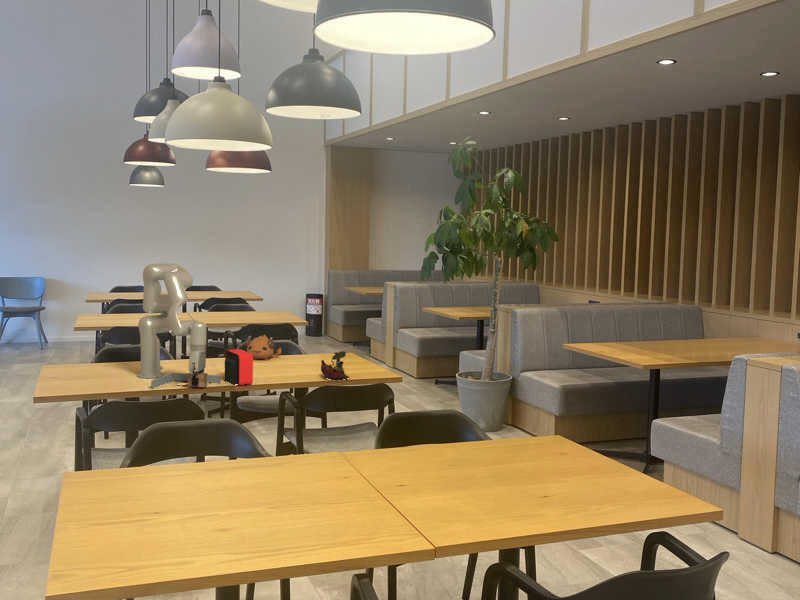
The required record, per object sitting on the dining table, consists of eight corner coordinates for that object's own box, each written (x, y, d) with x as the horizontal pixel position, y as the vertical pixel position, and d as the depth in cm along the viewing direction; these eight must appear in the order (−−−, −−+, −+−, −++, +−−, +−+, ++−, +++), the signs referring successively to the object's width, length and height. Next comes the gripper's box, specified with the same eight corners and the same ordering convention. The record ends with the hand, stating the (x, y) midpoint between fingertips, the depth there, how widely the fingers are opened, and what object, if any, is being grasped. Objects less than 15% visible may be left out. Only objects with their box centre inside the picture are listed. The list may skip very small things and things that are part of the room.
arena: (172, 380, 388) (172, 372, 387) (220, 383, 383) (220, 375, 383) (151, 388, 367) (151, 380, 366) (202, 392, 362) (202, 383, 362)
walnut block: (192, 383, 375) (192, 371, 375) (207, 385, 374) (207, 373, 373) (187, 386, 370) (187, 373, 370) (203, 387, 369) (203, 375, 368)
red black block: (235, 387, 375) (235, 355, 374) (220, 379, 392) (221, 349, 391) (253, 385, 381) (253, 354, 379) (238, 378, 397) (239, 348, 396)
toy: (240, 359, 447) (242, 333, 448) (251, 358, 464) (253, 334, 465) (272, 361, 444) (274, 335, 444) (281, 360, 461) (283, 336, 462)
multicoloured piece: (350, 381, 396) (350, 353, 395) (321, 382, 395) (321, 353, 393) (348, 376, 410) (349, 349, 409) (320, 376, 409) (320, 349, 407)
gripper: (198, 344, 379) (197, 380, 381) (183, 349, 362) (182, 387, 364) (212, 345, 378) (212, 381, 380) (197, 351, 361) (197, 388, 363)
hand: (197, 384), depth 372 cm, fingers closed on walnut block, 5 cm apart
